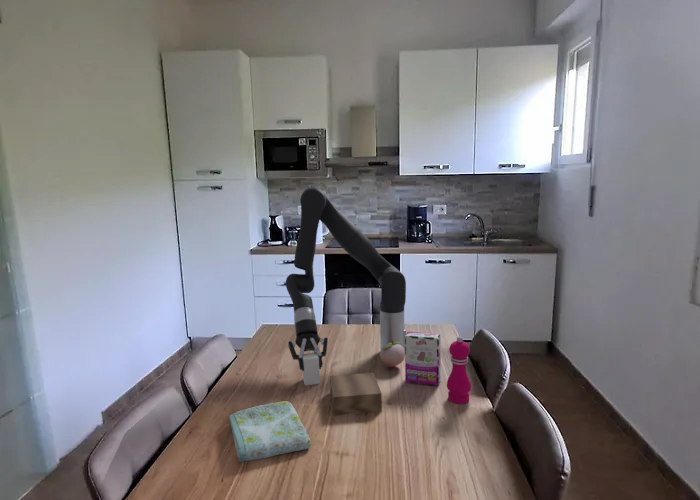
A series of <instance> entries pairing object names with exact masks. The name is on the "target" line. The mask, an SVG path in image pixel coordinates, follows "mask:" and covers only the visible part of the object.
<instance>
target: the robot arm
mask: <svg viewBox="0 0 700 500" xmlns="http://www.w3.org/2000/svg"><path fill="white" fill-rule="evenodd" d="M299 202H300V213H301V214H300V225H299V232H298V237H297V242H296V247H295V252H294V253H295V254H294V260H293V266H294V267H295V268H297V269H299V270H303V271H304V274H303V273H290V274H289V275H287V277H286V279H285V287H286V291H287V293H288V294H289V297H290V300H291V302H292V306H293V318H294V319H293V320H294V322H293V324H294V328H295V337H296V338H295V340H293V341H288V343H287V347H288V349H289V352H290V354H291V357H292V360H294V361H295V360H296V361H298V366H299V367H298V368H299V370H301V372H303V371H304V363H303V358H302V356H303V354H305V353H306V352H308V351H310V352H312V351H313V353H317V355H318V357H319V370H322V367H323V357H326V355H327V350H328V341H329V338H328V337H324V338H323V337H322V338H321V337H320V336H319V332H318V327H317V320H316V318H317V317H316V315H315V310H314V304H313V298H312V297H311V296H310V295H309V293H311V292H313V291H314V289H315V276H314V259H315V253H316V246H317V236H318V235H317V234H318V228H319V224H320V222H321V223H322V224H323V225H324V226H325V227H326V228H327V230H328V231H329V232H330V234H331V236H332V237H333V239H335V241H336V242H337V243H338V244H339V246H340V247H341V248H342V249H343V250H344V251H345V252H346V253H347V255H349V256H350V257H351V258H353V259H354V260H355V261H357V262H358V263H359V264H361V265H362V266H363V267H365V268H366V269H367V270H368V271H369V272H370V273H371V274H372V276H373V277H374V278H375V280H376V281H377V282H378V284H379V286H380V287H381V288H380V291H381V292H380V295H381V296H380V298H381V300H380V303H379V322H380V323H379V327H380V330H379V331H380V332H379V333H380V334H379V335H380V339H379V341H380V347H379V348H380V350H381V349H382V348H383V347H384V346H385V345H387V344H389V343H392V341H393V342H395V341H396V342H400V343H401V344H399V345H401V346H402V347H403V348H404V350H405V335H406V334H407V329H406V328H405V305H406V299H407V298H406V297H407V295H406V293H407V282H406V277H405V275H404V274H403V273H402V271H400V270H399V269H398V268H396V267H395V266H394V265H393V264H391V263H390V262H389V261H387V260H386V258H384V257H383V256H382V255H381V254H380V252H379V251H378V250H377V248H376V247H375V246H374V245H373V242H372V241H371V240H370V239H369V238H368V237H367V235H366V234H364V233H363V231H362V230H361V229H359V227H358V226H357V225H355V224H354V223H353V222H352V221H351V220H350V219H349V218H347V217H346V216H345V215H344V214H343V213H342V212H341V211H339V210H338V209H337V208H336V207H335V205H334V204H333V203H332V202H331V200H330V199H329V198H328V196H327V195H326V193H325V192H324V190H322V189H321V188H319V187H316V186H311V187H310V186H309V187H308V188H306V189H305V190H303V192H302V193H301V195H300V198H299ZM319 343H320V344H321V345H322V351H320V348H319V346H318V345H319ZM296 346H297V347H298V348H299V349H300V350H299V354H297V352H296V350H295V347H296Z"/></svg>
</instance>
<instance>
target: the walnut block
mask: <svg viewBox="0 0 700 500" xmlns="http://www.w3.org/2000/svg"><path fill="white" fill-rule="evenodd" d="M329 388H330V389H329V391H330V398H331V404H332V410H333V416H343V415H345V414H346V415H356V414H366V413H378V412H379V411H381V412H383V411H382V407H383V405H382V404H383V402H382V398H383V397H382V395H383V394H382V391H381V388H380V386H379V383H378V380H377V378H376V375H375V373H374V372H365V373H351V374H338V375H336V374H335V375H329ZM379 413H380V412H379Z"/></svg>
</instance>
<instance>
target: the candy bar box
mask: <svg viewBox="0 0 700 500" xmlns="http://www.w3.org/2000/svg"><path fill="white" fill-rule="evenodd" d="M404 360H405V363H404V364H405V374H404V375H405V376H404V377H405V383H409V384H415V385H424V386H435V387H439V385H440V382H441V377H442V375H441V373H442V372H441V365H442V364H441V333H436V332H435V333H433V332H419V331H406V335H405V357H404Z"/></svg>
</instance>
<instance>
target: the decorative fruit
mask: <svg viewBox="0 0 700 500" xmlns="http://www.w3.org/2000/svg"><path fill="white" fill-rule="evenodd" d="M399 344H401V343H400V342H396V341H395V342H393V341H392V343H389V344H387V345H385V346H384V347H383V348H382V349H381V348H380V351H379V357H380V360H381V362H383V364H385V366H387V367H390V368H394V367H396V366H398V365H400V364H402V363H403V362H404V360H405V350H404V348H403V347H402V346H401V345H399Z"/></svg>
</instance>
